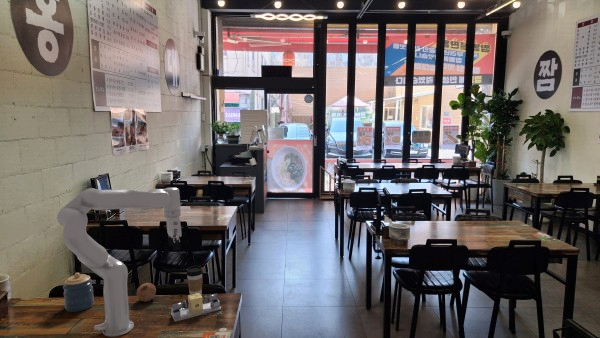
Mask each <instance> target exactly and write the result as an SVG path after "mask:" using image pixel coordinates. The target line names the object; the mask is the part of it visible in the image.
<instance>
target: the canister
mask: <svg viewBox="0 0 600 338" xmlns="http://www.w3.org/2000/svg"><path fill="white" fill-rule="evenodd" d="M63 283H64V284H63V286H62V289H63V290H64V291H63V297H64V298H63V300H64V308H65V311H66V312H68V313H78V312H83V311H86V310H88V309H90V308H91V307H93V306H94V304H95V298H94V286H93V285H92V284H93V280H92V279H91V276H90V275H87V274H85V273H80V272H75V273H74V275H71V276H69V277H67V278H66V279H65V281H64V282H63Z"/></svg>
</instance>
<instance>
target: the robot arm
mask: <svg viewBox="0 0 600 338" xmlns="http://www.w3.org/2000/svg"><path fill="white" fill-rule="evenodd" d="M122 209H129V210H132V209H134V210H136V209H146V210H147V209H163V214H164V218H166V230H167V231H166V232H167V234H168V235H167V236H168V237H167V239H168V240H167V241H168V246H172V250H173V252H174V251H180V250H181V239H180V238H181V237H182V235H183V234H182V226H181V225H182V224H181V219H180V218H181V196H180V189H179V188H177V187H175V186H174V187H166V188H153V189H149V190H148V191H140V190H139V191H138V190H135V189H128V188H126V189H123V188H122V189H96V188H93V187H91V188H87V189H84V190H83V191H82V192H80V193H79V194H78V195H76V196H75V197H74V198H73V199H71V200H70V201H69V202H68V203H67V204H65V205H64V206H63V207H62V208H61V209H60V210H59V211H58V213H57V216H56V219H57V223H58V224H59V225H60V226H61V227H63V230H62V241H63V243H64V245H65V246H66V247H67V248H68V249H69V251H71V252H72V253H73V255H75V256H76V258H77V260H79V262H81V263H82V264H83V265H84V266H85V267H86V268H88V269H89V270H91V272H93V273H94V274H96V275H97V276H98V277H100V278H101V279H103V289H102V290H103V291H102V292H103V304H104V305H103V306H104V317H105V320H104V322H102V323H100V324H95V325H94V327H93V328H94V331H97V332H100V331H101V332H102V334H103V335H104V336H105V337H119V336H123V335H125V334H127V333H130V332H131V331H132V330H133V329H134V327H135V325H134V322H133V320H130V307H129V296H128V276H129V275H128V274H129V271H128V267H127V266H126V264H124V262H122V261H121V260H119V259H117V258H115V257H113V256H112V255H111V254H109V253H108V251H107V249H106V248H105V247H104V246H102V245H101V244H99V243H98V242H97V241H96V240H95V239H93V237H91V236H90V235H89V234H88V233H87V225H88V223H89V222H88V216H87V213H88V212H90V211H91V210H94V211H105V210H122Z"/></svg>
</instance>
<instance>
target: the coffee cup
mask: <svg viewBox="0 0 600 338" xmlns="http://www.w3.org/2000/svg"><path fill="white" fill-rule="evenodd" d="M203 273H204V271H203V268H202V266H201V265H192V266H190V267H188V268H187V271H186V276H187V277H186V279H187V285H188V291H189V295H192V294H196V293H200V295H201V296H202V295H203V294H202V293H203V291H202V290H203Z"/></svg>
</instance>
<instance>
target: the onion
mask: <svg viewBox="0 0 600 338" xmlns="http://www.w3.org/2000/svg"><path fill="white" fill-rule="evenodd" d="M156 292H157V289H156V286H155V284H153V283H150V282H145V283H143V284H141V285H140V286H138V288H137V289H136V297H137V299H138V300H139V301H141V302H144V303H147V302H150V301H151V300H153V299H154V297H155V296H156Z"/></svg>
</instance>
